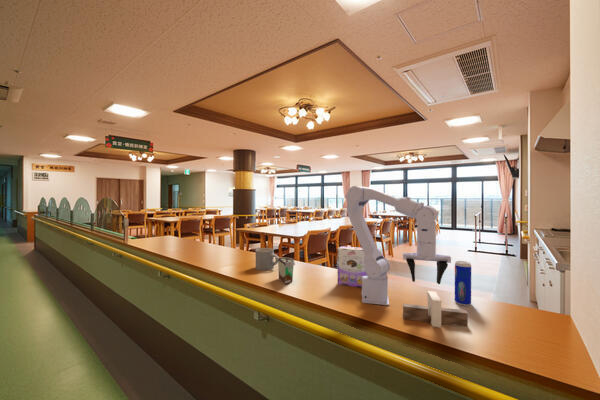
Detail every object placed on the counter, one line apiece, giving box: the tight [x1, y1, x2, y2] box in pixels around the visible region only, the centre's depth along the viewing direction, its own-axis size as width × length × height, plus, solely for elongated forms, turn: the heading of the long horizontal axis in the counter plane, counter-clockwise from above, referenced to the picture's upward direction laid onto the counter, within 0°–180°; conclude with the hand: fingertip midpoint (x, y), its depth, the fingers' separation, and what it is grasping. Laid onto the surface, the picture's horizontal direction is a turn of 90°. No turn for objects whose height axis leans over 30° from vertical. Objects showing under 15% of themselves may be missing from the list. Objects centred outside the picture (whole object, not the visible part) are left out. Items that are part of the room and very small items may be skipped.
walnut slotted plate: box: [402, 303, 469, 327], centre depth 83 cm, size 18×2×4 cm, turn 74°
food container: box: [277, 256, 296, 285], centre depth 123 cm, size 12×6×10 cm, turn 22°
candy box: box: [336, 245, 368, 289], centre depth 117 cm, size 14×6×16 cm, turn 63°
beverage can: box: [454, 260, 472, 307], centre depth 96 cm, size 5×5×15 cm
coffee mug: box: [255, 247, 279, 271], centre depth 144 cm, size 13×10×10 cm
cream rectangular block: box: [427, 290, 442, 328], centre depth 83 cm, size 8×2×8 cm, turn 164°
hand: (425, 282), depth 89 cm, fingers open, 7 cm apart
